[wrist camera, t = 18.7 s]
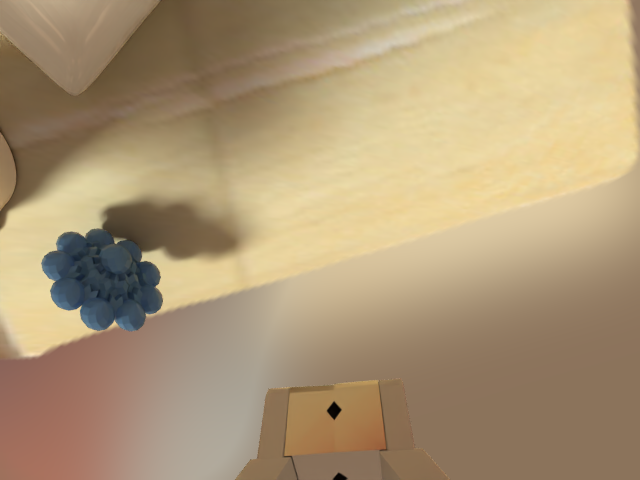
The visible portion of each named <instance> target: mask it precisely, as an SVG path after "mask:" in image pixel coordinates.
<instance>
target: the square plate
mask: <svg viewBox="0 0 640 480" xmlns="http://www.w3.org/2000/svg"><path fill="white" fill-rule="evenodd" d="M160 1H161V0H0V32H1V33H2V34H3V35H4V36H5V37H6V38H7V39H8V40H9V41H10V42H11V43H12V44H13V45H15V46H16V47H17V48H18V49H19V50H20V51H21V52H22V53H23V54H24V55H25V56H26V57H27V58H29V59H30V60H31V61H32V62H33V63H34V64H35V65H36V66H37V67H38V68H40V69H41V70H42V71H43V72H44V73H45V74H46V75H47V76H48V77H49V78H50V79H52V80H53V81H54V82H55V83H56V84H57V85H59V86H60V87H61V88H62V89H63V90H65V91H66V92H67V93H69V94H70V95H73V96H77V95H80V94H81V93H82V92H84V91H85V90H86V89H87V88H88V87H89V86H90V85H91V84H92V83H93V82H94V81H95V79H96V78H97V77H98V76H99V75H100V74H101V73H102V71H103V70H104V69H105V68H106V67H107V65H108V64H109V63H110V62H111V60H112V59H113V58H114V57H115V56H116V54H117V53H118V52H119V51H120V49H121V48H122V47H123V46H124V44H125V43H126V42H127V41H128V40H129V38H130V37H131V36H132V35H133V33H134V32H135V31H136V30H137V28H138V27H139V26H140V25H141V24H142V22H143V21H144V20H145V19H146V18H147V16H148V15H149V14H150V13H151V12H152V11H153V9H154V8H155V7H156V6H157V5H158V4H159V2H160Z"/></svg>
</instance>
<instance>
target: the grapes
mask: <svg viewBox="0 0 640 480" xmlns="http://www.w3.org/2000/svg"><path fill="white" fill-rule="evenodd" d="M56 245H57V250H58V251H52V252H49V253H48V254H47V255H45V256H44V258H43V260H42V263H41V264H42V269H43V271H44V273H45V274H46V275H47V276H48V278H49V279H51V280H54V281H56V282H55V283H53V285H52V288H51V290H50V292H51V297H52V300H53V301H54V302H55V304H56V305H57V306H58V307H60V308H62V309H65V310H74V309H77V308H79V307H80V306H81V305H82V307H81V310H80V315H81V319H82V321H83V322H84V323H85V324H86V326H87V327H88V328H91V329H94V330H97V331H100V330H105V329H107V328H108V327H109V326H110V325H111V324H112V323H113V322H114V320H115V322H116V323H117V324H118V325H119V327H120V328H122V329H124V330H127V331H135V330H138V329H139V328H140V327H142V326H143V325H144V322H145V319H146V314H153V313H156V312H157V311H158V310H159V309H160V308H161V306H162V303H163V298H162V294H161V293H160V291H159V290H158V289H157V288H156V287H155V286H156V285H158V284H159V281H160V278H161V276H160V272H159V270H158V268H157V267H156V266H155V265H154V264H153V263H151V262H147V261H143V262H140V261H141V258H142V253H141V249H140V248H139V246H138V245H137V244H136V243H135V242H133V241H129V240H124V241H120V242H118V243H117V244H115V243H114V238H113V237H112V235H111V234H110V233H109V232H107V231H106V230H104V229H92V230H90V231H89V232H88V233H86V236H85V238H84V237H83V236H82V235H81V234H79V233H77V232H67V233H63V234H62V235H61V236H59V237H58V240H57V242H56ZM145 313H146V314H145Z"/></svg>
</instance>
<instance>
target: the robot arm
mask: <svg viewBox="0 0 640 480" xmlns="http://www.w3.org/2000/svg"><path fill="white" fill-rule="evenodd" d="M15 185H16V168H15V163H14V159H13V156H12V153H11V151H10V148H9V146H8V144H7V142H6V140H5V139H4V137H3V135H2V134H1V132H0V211H1V209H2V208H3V207H4V206H5V204H6V203H7V202H8V201H9V200H10V198H11V196H12V194H13V192H14V189H15ZM235 480H450V479H449V478H448V476H447V475H446V474H445V473H444V472H443V471H442V470H441V469H440V468H439V466H438V465H437V464H436V463H435V462H434V461H433V460H432V458H431V457H430V456H429V455H428V454H427V453H426V452H425V451H424V449H422V448H415V444H414V439H413V434H412V428H411V423H410V418H409V412H408V407H407V402H406V396H405V390H404V385H403V382H402V380H401V379H389V380H379V382H378V380H371V381H361V382H350V383H340V384H334V385H323V386H305V387H286V388H274V389H273V388H272V389H268V392H267V394H266V398H265V406H264V413H263V420H262V428H261V435H260V441H259V449H258V456H257V459H253V460H250V461H249V462H248V463H247V465H246V466H245V467H244V469H243V470H242V471H241V473H240V474H239V475H238V476H237V478H236V479H235Z"/></svg>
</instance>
